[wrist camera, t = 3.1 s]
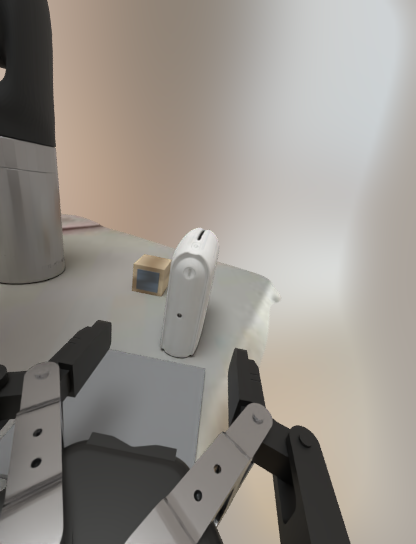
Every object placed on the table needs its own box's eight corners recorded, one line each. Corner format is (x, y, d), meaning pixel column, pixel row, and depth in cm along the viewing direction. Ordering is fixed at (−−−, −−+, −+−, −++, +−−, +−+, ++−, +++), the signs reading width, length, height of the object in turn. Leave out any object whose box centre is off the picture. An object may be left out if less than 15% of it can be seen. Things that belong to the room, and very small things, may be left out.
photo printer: (195, 363, 22) (220, 248, 17) (154, 354, 22) (168, 237, 17) (206, 310, 32) (224, 226, 27) (177, 303, 32) (190, 219, 27)
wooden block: (131, 291, 32) (133, 264, 31) (142, 279, 37) (144, 254, 35) (161, 297, 32) (164, 270, 31) (168, 284, 37) (171, 259, 35)
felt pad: (-24, 472, 12) (-26, 468, 12) (84, 347, 21) (84, 344, 21) (188, 515, 12) (189, 511, 12) (204, 371, 21) (205, 368, 21)
